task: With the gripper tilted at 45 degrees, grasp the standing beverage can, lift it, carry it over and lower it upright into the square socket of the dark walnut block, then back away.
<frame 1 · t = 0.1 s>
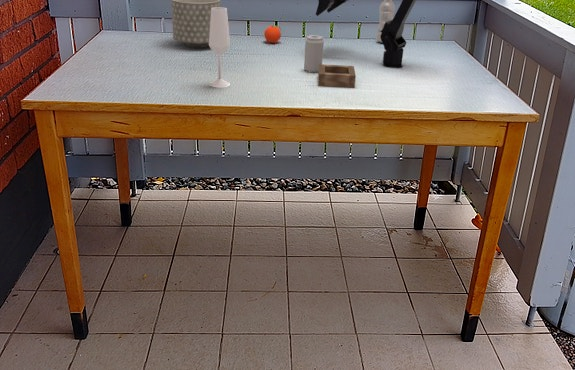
hand: (322, 13, 223), 15 cm above the table, tool tilted 35°, fingers open, 9 cm apart
planter: (197, 45, 231), on the table
socket block: (335, 81, 194), on the table
beverage can: (312, 71, 205), on the table
clementine: (273, 43, 240), on the table
plastic bottle: (383, 43, 248), on the table
champagne flute: (220, 84, 186), on the table
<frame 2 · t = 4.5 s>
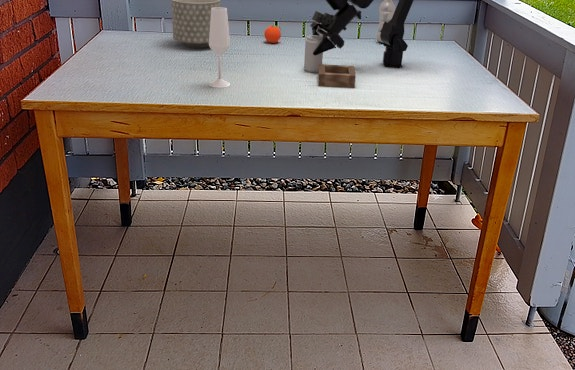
hand: (310, 52, 202), 7 cm above the table, tool tilted 45°, fingers closed on beverage can, 6 cm apart
beverage can: (312, 70, 205), on the table, touching gripper
everything else where it was.
when the fingers open (9 cm above the table, at t = 8.8 s): beverage can drops 1 cm, resting on socket block.
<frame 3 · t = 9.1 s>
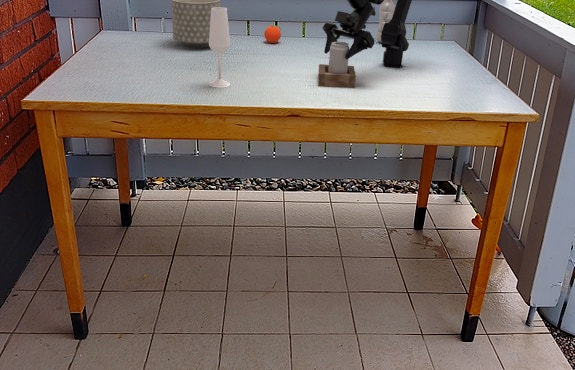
hand: (335, 55, 189), 9 cm above the table, tool tilted 45°, fingers open, 9 cm apart
beverage can: (337, 79, 194), point 1 cm above the table, touching socket block
everything else where it was.
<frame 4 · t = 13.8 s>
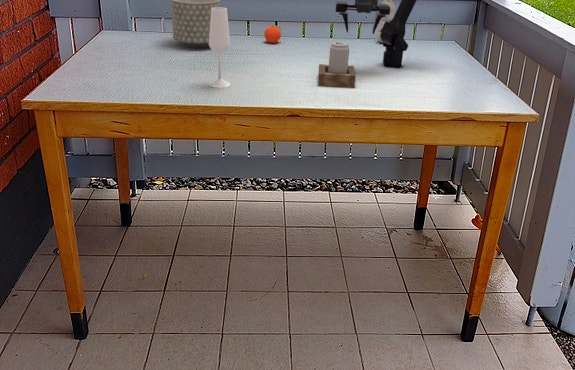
hand: (360, 33, 203), 13 cm above the table, tool pointing down, fingers open, 9 cm apart
nothing on the table moved.
at the end: beverage can 0.4 cm off-centre on the socket block, point 0.8 cm above the socket block's base; beverage can tilted 0°; the gripper is holding nothing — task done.
